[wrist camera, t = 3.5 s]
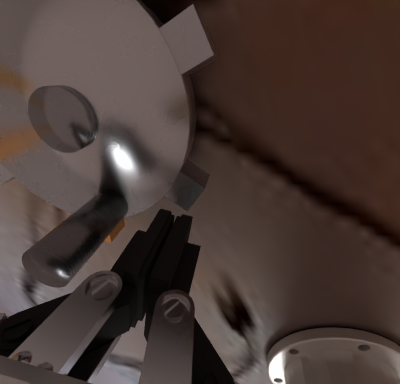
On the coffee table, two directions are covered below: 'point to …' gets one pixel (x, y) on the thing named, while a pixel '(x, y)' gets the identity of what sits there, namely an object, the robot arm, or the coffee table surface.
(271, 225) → the coffee table surface
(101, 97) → the sprocket
